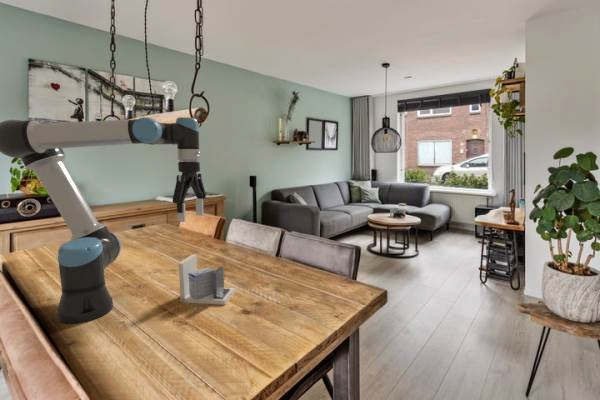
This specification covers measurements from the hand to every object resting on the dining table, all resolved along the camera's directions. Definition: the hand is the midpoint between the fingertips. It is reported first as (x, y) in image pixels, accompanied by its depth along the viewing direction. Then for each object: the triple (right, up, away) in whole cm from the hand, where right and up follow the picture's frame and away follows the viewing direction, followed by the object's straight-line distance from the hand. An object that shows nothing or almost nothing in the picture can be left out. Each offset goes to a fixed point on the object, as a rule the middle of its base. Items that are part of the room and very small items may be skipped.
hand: (191, 218), depth 121 cm
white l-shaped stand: (+8, -28, -5) cm, 30 cm away
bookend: (+13, -27, -6) cm, 30 cm away
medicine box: (+6, -27, -6) cm, 28 cm away
